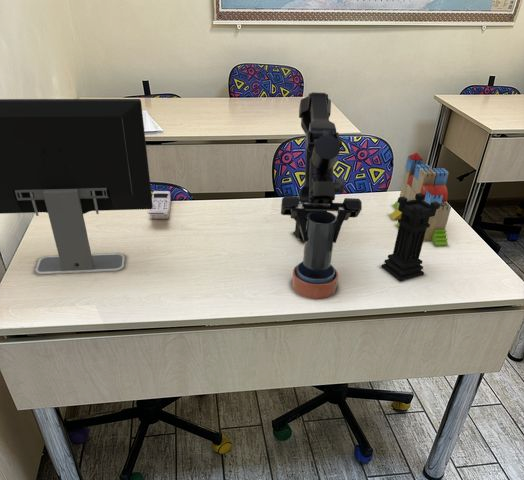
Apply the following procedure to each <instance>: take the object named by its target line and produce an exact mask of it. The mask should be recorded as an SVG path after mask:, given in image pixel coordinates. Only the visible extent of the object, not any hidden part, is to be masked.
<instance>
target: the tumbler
mask: <svg viewBox="0 0 524 480" xmlns="http://www.w3.org/2000/svg"><path fill="white" fill-rule="evenodd" d="M336 222H337V215H336V214H334V213H333V212H331V211H327V212H326V211H314V212H311V213H309V214H308V216H307V226H306V242H305V243H304V246H303V247H304V249H303V257H302V262H303V264H304V266H306V267H307V268H309V269H312V270H325V269H327V268H329V267H330V264H331V263H332V257H333V249H334V244H335V243H334V236H335V229H336ZM331 265H332V264H331Z"/></svg>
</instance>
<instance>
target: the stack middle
mask: <svg viewBox="0 0 524 480" xmlns="http://www.w3.org/2000/svg"><path fill="white" fill-rule="evenodd" d="M298 264H299V265H298ZM298 264H297V265H298V266H297V265H296V266H297V272H296V276H297V277H298V278H299V279H300V280H302V281H304V282H307V283H310V284H326V283H329V282H331V281H333V280H334V277H335V269H336V268H335V267H334V266H333V264H330V267H329V268H327V269H325V270H312V269H309V268H307V267H306V266H304V264H303V261H301V262H300V263H298ZM334 268H335V269H334ZM307 275H309V276H307ZM314 275H315V277H316V276H321V277H322V278H324V279H322V278H321V279H320V277H319V279H316V278H318V277H316V278H315V277H314ZM309 277H311V278H309ZM312 277H313V279H312ZM314 278H315V279H314Z"/></svg>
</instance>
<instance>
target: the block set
mask: <svg viewBox="0 0 524 480" xmlns="http://www.w3.org/2000/svg"><path fill="white" fill-rule="evenodd" d="M423 160H424V159H423V158H422V157H421V155H420V154H419V153H418V152H414V153H412V154H410V155H408V156H407V159H406V163H405V170H404V174H403V180H402V184H401V187H400V193H399V197H405V198H407V201H409V200H414V199H415V195H416V194H418V193H422V194H424V195H425V197H424V200H423V201H425V202H427V203H429V204H430V205H431V202H438V203H440V208H439V209H437V210H436V213H435V216H432V217H430V218H429V222H428V223H429V224H430V227H429V228H427V229H426V233H425V237H424V240H423V242H424V241H431V242H432V243H433V244H434V245H435V246H436V247H443V246H448V244H449V243H448V238H447V236H448V234H447V229H446V228H447V223H448V220H449V217H450V213H451V209H452V206H451V205H450V203H448V198H449V193H448V187H447V181H448V178H449V173H450V172H449V171H448V170H446V168H444V167H441V168H440V167H438V168H436V167H435V168H432V167H431V166H429V164H423ZM415 200H416V199H415ZM393 207H394V209H395V210H394V211H393V212H391V213H390V214H389V217H390V218H391V219H392V221H398V219H401V215H402V212H400V211H399V210H398V208H399V203H398V200H396V201H395V202H394V203H393ZM399 224H400V223H398V222H397V223H396V226H397V227H398V229H399Z"/></svg>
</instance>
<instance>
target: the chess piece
mask: <svg viewBox="0 0 524 480" xmlns="http://www.w3.org/2000/svg"><path fill="white" fill-rule="evenodd" d="M424 197H425V195H424V194H422V193H418V194H416V195H415V199H416V200H415V199H414V200H409V201H407V198H405V197H400V196H399V197H398V198H397V201H398V203H399V208H398V210H399V211H400V212H402V215H401V219H398V220H397V223H400V224H399V228H398V230H397V233H396V237H395V241H394V242H395V243H394V247H393V251H392V253H390V254H388V255H387V259H384V263H382V264H381V266H380V268H382V269H383V270H384V271H386V272H387V273H388V274H389V275H391V276H392V277H393V278H394V279H396V280H397V281H398V282H404V281H408V280H410V279H415V278H417V277H420V276H421V277H422V276H424V274H425V271H424V270H423V269H424V266H423V265H422V264H423V260H422V259H420V256H421V251H422V248H423V244H424V241H423V240H424V237H425V233H426V229H427V228H429V227H430V224H429V223H428V222H429V218H430V217H432V216H435V213H436V210H437V209H439V208H440V203H438V202H431V205H430V204H429V203H427V202H425V201H423V200H424Z"/></svg>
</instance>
